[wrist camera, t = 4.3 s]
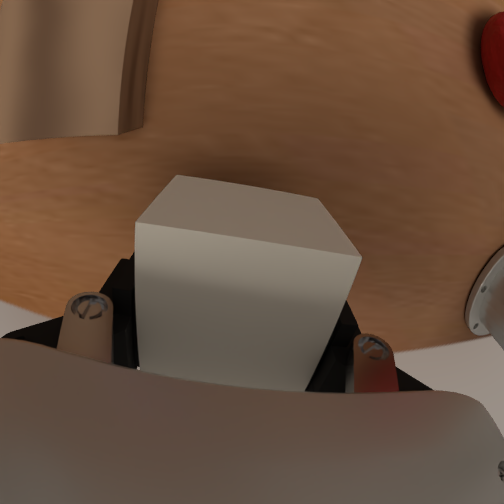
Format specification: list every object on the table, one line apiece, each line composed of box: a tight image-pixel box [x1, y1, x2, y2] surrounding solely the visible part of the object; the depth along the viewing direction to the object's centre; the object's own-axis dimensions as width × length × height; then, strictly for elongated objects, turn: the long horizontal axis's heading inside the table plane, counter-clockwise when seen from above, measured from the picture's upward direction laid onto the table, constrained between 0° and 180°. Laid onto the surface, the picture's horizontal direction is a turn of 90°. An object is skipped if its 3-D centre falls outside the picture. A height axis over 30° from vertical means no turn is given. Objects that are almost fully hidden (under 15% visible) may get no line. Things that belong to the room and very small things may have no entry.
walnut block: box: [0, 0, 158, 144], centre depth 12 cm, size 9×11×5 cm
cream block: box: [135, 175, 362, 391], centre depth 10 cm, size 5×7×4 cm
